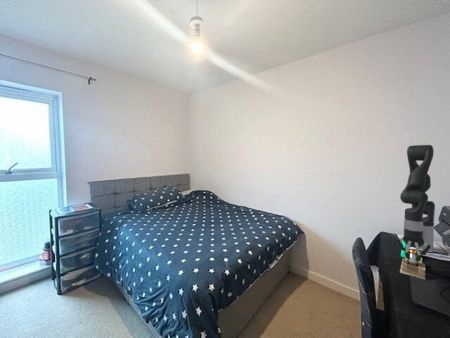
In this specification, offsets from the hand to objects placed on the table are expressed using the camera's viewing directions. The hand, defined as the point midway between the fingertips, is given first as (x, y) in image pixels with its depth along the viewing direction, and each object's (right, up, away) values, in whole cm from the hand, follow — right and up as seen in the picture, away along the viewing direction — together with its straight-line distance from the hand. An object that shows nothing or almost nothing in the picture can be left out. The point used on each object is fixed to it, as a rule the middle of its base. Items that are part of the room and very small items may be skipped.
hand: (412, 259), depth 108 cm
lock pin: (0, -5, 0) cm, 5 cm away
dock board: (+4, -7, +4) cm, 9 cm away
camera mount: (+15, -7, +18) cm, 24 cm away
